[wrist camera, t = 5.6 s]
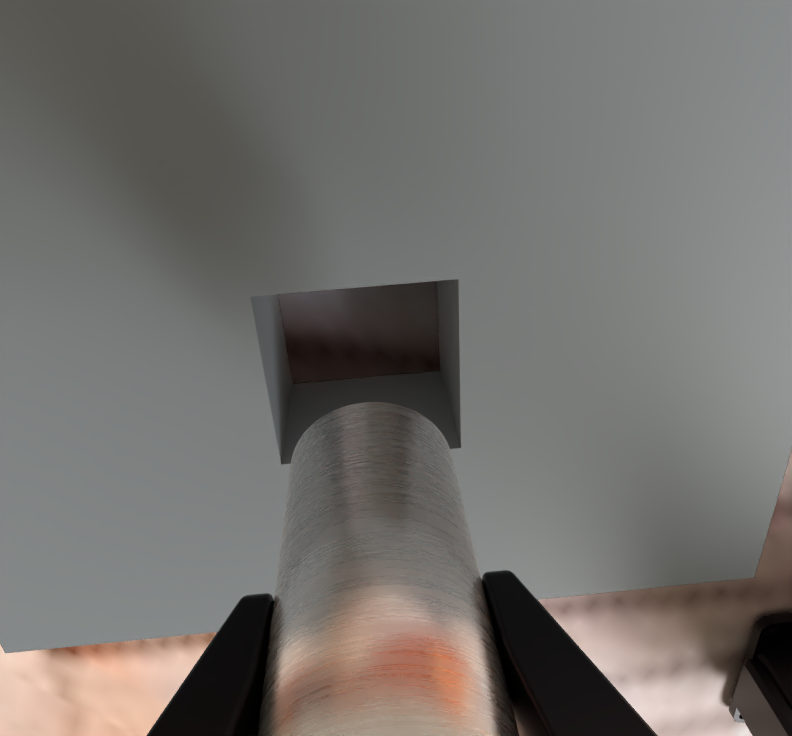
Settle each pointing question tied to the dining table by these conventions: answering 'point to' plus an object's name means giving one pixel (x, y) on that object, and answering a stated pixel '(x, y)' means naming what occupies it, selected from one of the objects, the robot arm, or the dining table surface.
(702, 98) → the hole block
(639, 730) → the robot arm
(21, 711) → the dining table surface
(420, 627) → the steel peg
